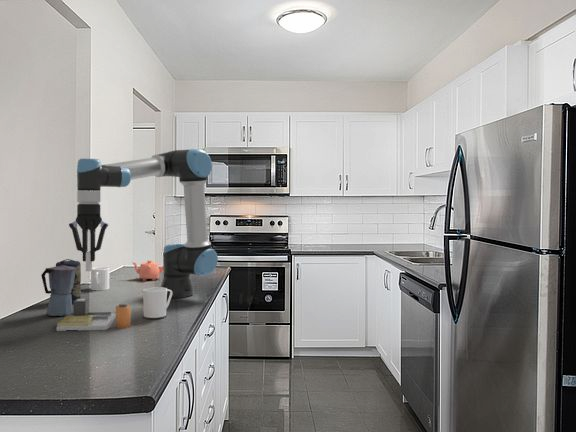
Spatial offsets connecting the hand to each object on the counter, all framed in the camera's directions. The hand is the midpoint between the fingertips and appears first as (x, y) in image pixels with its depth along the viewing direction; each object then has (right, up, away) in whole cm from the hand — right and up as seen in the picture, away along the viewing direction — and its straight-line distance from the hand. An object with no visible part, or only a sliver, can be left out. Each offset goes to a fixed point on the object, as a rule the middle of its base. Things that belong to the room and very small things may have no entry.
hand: (88, 270), depth 178 cm
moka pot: (-15, -18, +11) cm, 26 cm away
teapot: (-3, -15, +90) cm, 91 cm away
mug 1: (-19, -16, +60) cm, 64 cm away
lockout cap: (+13, -19, -3) cm, 23 cm away
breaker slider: (-4, -16, +3) cm, 17 cm away
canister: (-21, -17, +32) cm, 42 cm away
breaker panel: (0, -18, -1) cm, 18 cm away
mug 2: (+21, -19, +12) cm, 30 cm away
